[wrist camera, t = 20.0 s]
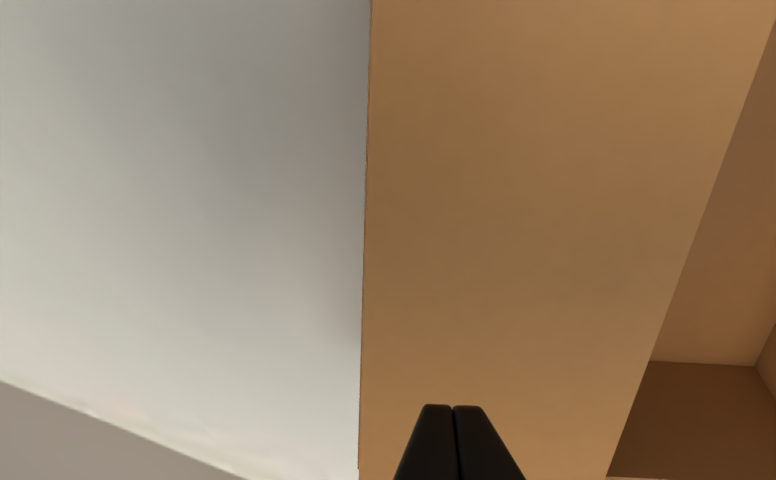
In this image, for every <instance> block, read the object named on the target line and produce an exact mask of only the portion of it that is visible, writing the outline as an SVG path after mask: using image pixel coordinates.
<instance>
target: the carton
mask: <svg viewBox="0 0 776 480" xmlns="http://www.w3.org/2000/svg"><path fill="white" fill-rule="evenodd" d="M372 7H373V0H370V30H369V67H368V104H367V141H366V178H365V215H364V252H363V289H362V326H361V363H360V399H359V436H358V469H359V455H360V420H361V386H362V351H363V317H364V282H365V248H366V214H367V179H368V145H369V110H370V76H371V42H372ZM605 480H776V20H775V22H774V25H773V28H772V31H771V33H770V36H769V39H768V41H767V44H766V47H765V49H764V52H763V55H762V57H761V60H760V63H759V65H758V68H757V71H756V74H755V76H754V79H753V82H752V84H751V87H750V90H749V92H748V95H747V98H746V100H745V103H744V106H743V109H742V111H741V114H740V117H739V119H738V122H737V125H736V127H735V130H734V133H733V135H732V138H731V141H730V143H729V146H728V149H727V152H726V154H725V157H724V160H723V162H722V165H721V168H720V170H719V173H718V176H717V178H716V181H715V184H714V187H713V189H712V192H711V195H710V197H709V200H708V203H707V205H706V208H705V211H704V213H703V216H702V219H701V221H700V224H699V227H698V230H697V232H696V235H695V238H694V240H693V243H692V246H691V248H690V251H689V254H688V256H687V259H686V262H685V265H684V267H683V270H682V273H681V275H680V278H679V281H678V283H677V286H676V289H675V291H674V294H673V297H672V300H671V302H670V305H669V308H668V310H667V313H666V316H665V318H664V321H663V324H662V326H661V329H660V332H659V334H658V337H657V340H656V343H655V345H654V348H653V351H652V353H651V356H650V359H649V361H648V364H647V367H646V369H645V372H644V375H643V378H642V380H641V383H640V386H639V388H638V391H637V394H636V396H635V399H634V402H633V404H632V407H631V410H630V412H629V415H628V418H627V421H626V423H625V426H624V429H623V431H622V434H621V437H620V439H619V442H618V445H617V447H616V450H615V453H614V456H613V458H612V461H611V464H610V466H609V469H608V472H607V474H606V477H605Z"/></svg>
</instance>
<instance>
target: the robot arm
mask: <svg viewBox="0 0 776 480" xmlns="http://www.w3.org/2000/svg"><path fill="white" fill-rule="evenodd" d="M393 480H526V478H525V476H524V475H523V473H522V472H521V470H520V468H519V467H518V465H517V464H516V462H515V460H514V459H513V457H512V455H511V454H510V452H509V451H508V449H507V447H506V446H505V444H504V442H503V441H502V439H501V438H500V436H499V434H498V433H497V431H496V430H495V428H494V426H493V425H492V423H491V421H490V420H489V418H488V417H487V415H486V413H485V412H484V410H483V409H482V408H481V407H479V406H472V405H455V406H454V407H453V408H451V406H449V405H447V404H425V405H424V406H423V407H422V409H421V412H420V414H419V416H418V419H417V421H416V424H415V426H414V429H413V431H412V433H411V436H410V438H409V441H408V443H407V446H406V448H405V451H404V453H403V455H402V458H401V460H400V463H399V465H398V468H397V470H396V472H395V475H394V477H393Z"/></svg>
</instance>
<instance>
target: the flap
mask: <svg viewBox="0 0 776 480" xmlns="http://www.w3.org/2000/svg"><path fill="white" fill-rule="evenodd" d="M775 20H776V0H373V7H372V42H371V76H370V110H369V145H368V179H367V214H366V248H365V282H364V317H363V351H362V386H361V420H360V455H359V480H393V477H394V475H395V472H396V470H397V468H398V465H399V463H400V460H401V458H402V455H403V453H404V451H405V448H406V446H407V443H408V441H409V438H410V436H411V433H412V431H413V429H414V426H415V424H416V421H417V419H418V416H419V414H420V412H421V409H422V407H423V406H424V405H425V404H447V405H449V406H451V408H453V407H454V406H455V405H472V406H479V407H481V408H482V409H483V410H484V412H485V413H486V415H487V417H488V418H489V420H490V421H491V423H492V425H493V426H494V428H495V430H496V431H497V433H498V434H499V436H500V438H501V439H502V441H503V442H504V444H505V446H506V447H507V449H508V451H509V452H510V454H511V455H512V457H513V459H514V460H515V462H516V464H517V465H518V467H519V468H520V470H521V472H522V473H523V475H524V476H525V478H526V480H605V477H606V474H607V472H608V469H609V466H610V464H611V461H612V458H613V456H614V453H615V450H616V447H617V445H618V442H619V439H620V437H621V434H622V431H623V429H624V426H625V423H626V421H627V418H628V415H629V412H630V410H631V407H632V404H633V402H634V399H635V396H636V394H637V391H638V388H639V386H640V383H641V380H642V378H643V375H644V372H645V369H646V367H647V364H648V361H649V359H650V356H651V353H652V351H653V348H654V345H655V343H656V340H657V337H658V334H659V332H660V329H661V326H662V324H663V321H664V318H665V316H666V313H667V310H668V308H669V305H670V302H671V300H672V297H673V294H674V291H675V289H676V286H677V283H678V281H679V278H680V275H681V273H682V270H683V267H684V265H685V262H686V259H687V256H688V254H689V251H690V248H691V246H692V243H693V240H694V238H695V235H696V232H697V230H698V227H699V224H700V221H701V219H702V216H703V213H704V211H705V208H706V205H707V203H708V200H709V197H710V195H711V192H712V189H713V187H714V184H715V181H716V178H717V176H718V173H719V170H720V168H721V165H722V162H723V160H724V157H725V154H726V152H727V149H728V146H729V143H730V141H731V138H732V135H733V133H734V130H735V127H736V125H737V122H738V119H739V117H740V114H741V111H742V109H743V106H744V103H745V100H746V98H747V95H748V92H749V90H750V87H751V84H752V82H753V79H754V76H755V74H756V71H757V68H758V65H759V63H760V60H761V57H762V55H763V52H764V49H765V47H766V44H767V41H768V39H769V36H770V33H771V31H772V28H773V25H774V22H775Z"/></svg>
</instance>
